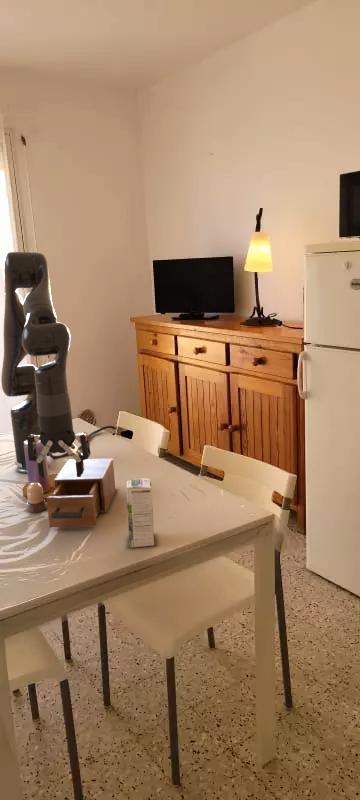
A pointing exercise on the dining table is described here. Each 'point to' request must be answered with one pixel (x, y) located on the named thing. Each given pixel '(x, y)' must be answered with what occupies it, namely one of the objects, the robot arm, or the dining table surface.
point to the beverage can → (36, 468)
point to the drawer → (74, 504)
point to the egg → (35, 498)
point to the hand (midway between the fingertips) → (61, 476)
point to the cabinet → (91, 477)
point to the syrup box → (140, 512)
